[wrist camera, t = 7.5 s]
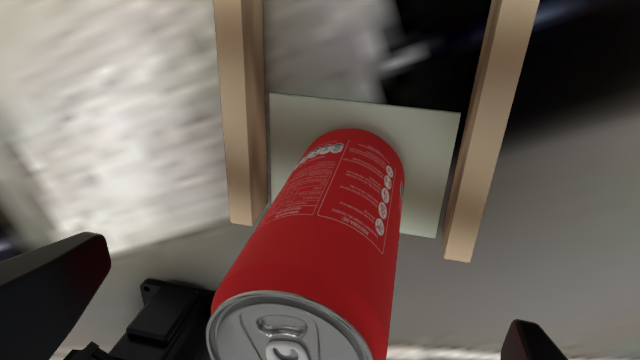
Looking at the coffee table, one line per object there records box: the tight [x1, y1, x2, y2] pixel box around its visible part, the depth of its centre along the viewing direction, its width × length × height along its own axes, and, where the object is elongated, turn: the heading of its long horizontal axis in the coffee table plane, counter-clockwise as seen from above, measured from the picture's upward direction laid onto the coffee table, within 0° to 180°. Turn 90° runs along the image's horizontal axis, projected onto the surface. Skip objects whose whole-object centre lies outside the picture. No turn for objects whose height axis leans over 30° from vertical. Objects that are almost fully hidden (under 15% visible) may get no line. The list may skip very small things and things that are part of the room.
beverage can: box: [206, 128, 405, 360], centre depth 16 cm, size 5×5×12 cm
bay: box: [213, 0, 540, 263], centre depth 17 cm, size 20×12×4 cm, turn 178°
